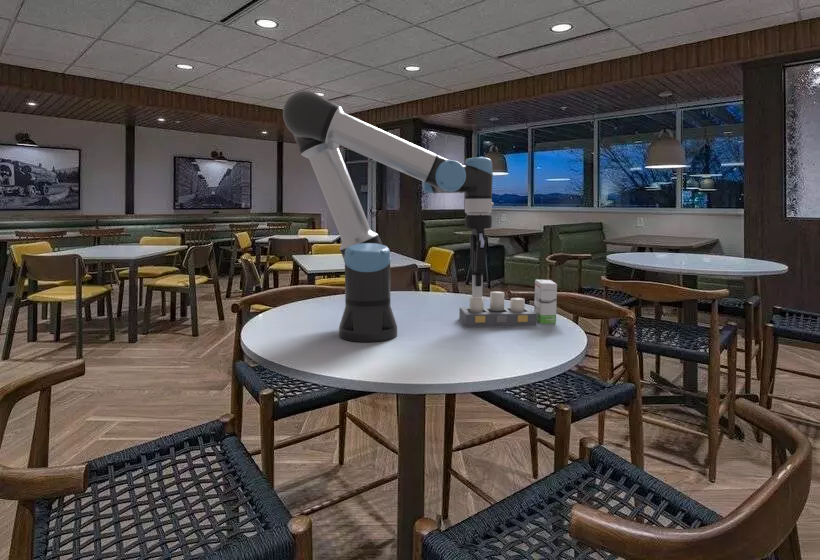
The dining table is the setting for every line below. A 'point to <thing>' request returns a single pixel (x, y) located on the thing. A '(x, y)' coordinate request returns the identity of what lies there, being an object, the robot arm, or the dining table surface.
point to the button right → (517, 305)
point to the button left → (476, 304)
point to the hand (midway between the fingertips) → (477, 296)
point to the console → (497, 317)
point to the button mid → (497, 301)
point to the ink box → (545, 301)
